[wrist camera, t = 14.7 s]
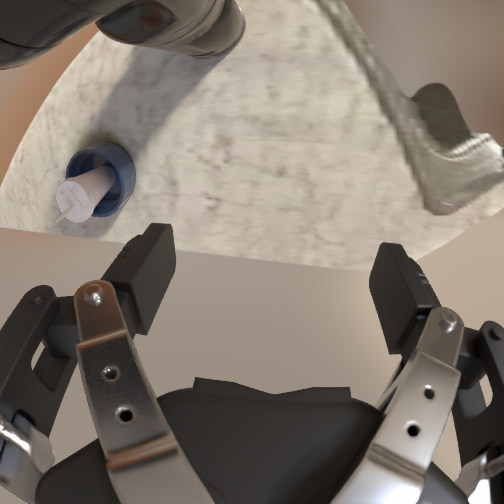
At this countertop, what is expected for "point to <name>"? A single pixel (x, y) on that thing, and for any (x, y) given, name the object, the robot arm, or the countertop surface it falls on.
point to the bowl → (121, 165)
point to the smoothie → (83, 193)
